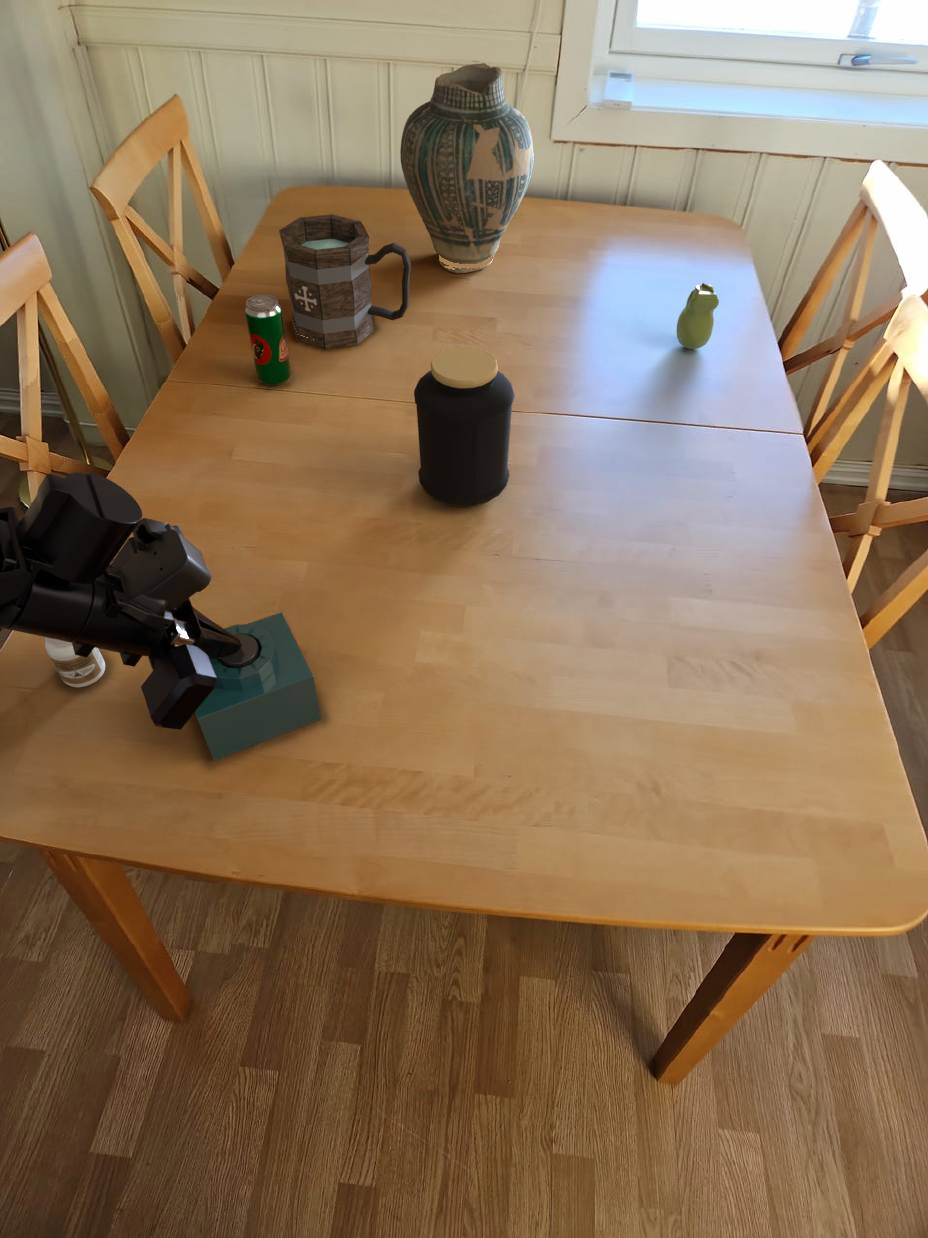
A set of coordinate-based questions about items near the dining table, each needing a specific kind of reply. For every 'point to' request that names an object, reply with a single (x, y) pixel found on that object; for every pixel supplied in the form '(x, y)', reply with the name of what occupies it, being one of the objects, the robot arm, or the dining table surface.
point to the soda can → (268, 339)
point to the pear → (697, 317)
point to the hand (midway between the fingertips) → (238, 646)
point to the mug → (334, 280)
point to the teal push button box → (259, 692)
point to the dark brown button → (242, 653)
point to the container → (464, 427)
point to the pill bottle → (75, 663)
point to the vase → (467, 163)
